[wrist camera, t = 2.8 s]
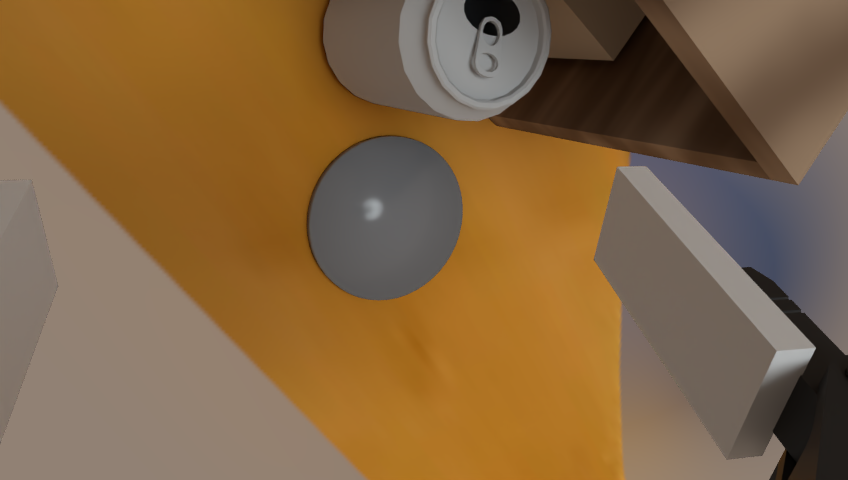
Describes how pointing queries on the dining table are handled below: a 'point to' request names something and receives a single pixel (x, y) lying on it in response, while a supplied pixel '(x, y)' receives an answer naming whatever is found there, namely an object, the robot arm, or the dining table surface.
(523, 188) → the dining table surface
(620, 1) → the block
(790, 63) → the wooden box
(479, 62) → the can
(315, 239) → the coaster
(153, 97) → the dining table surface
